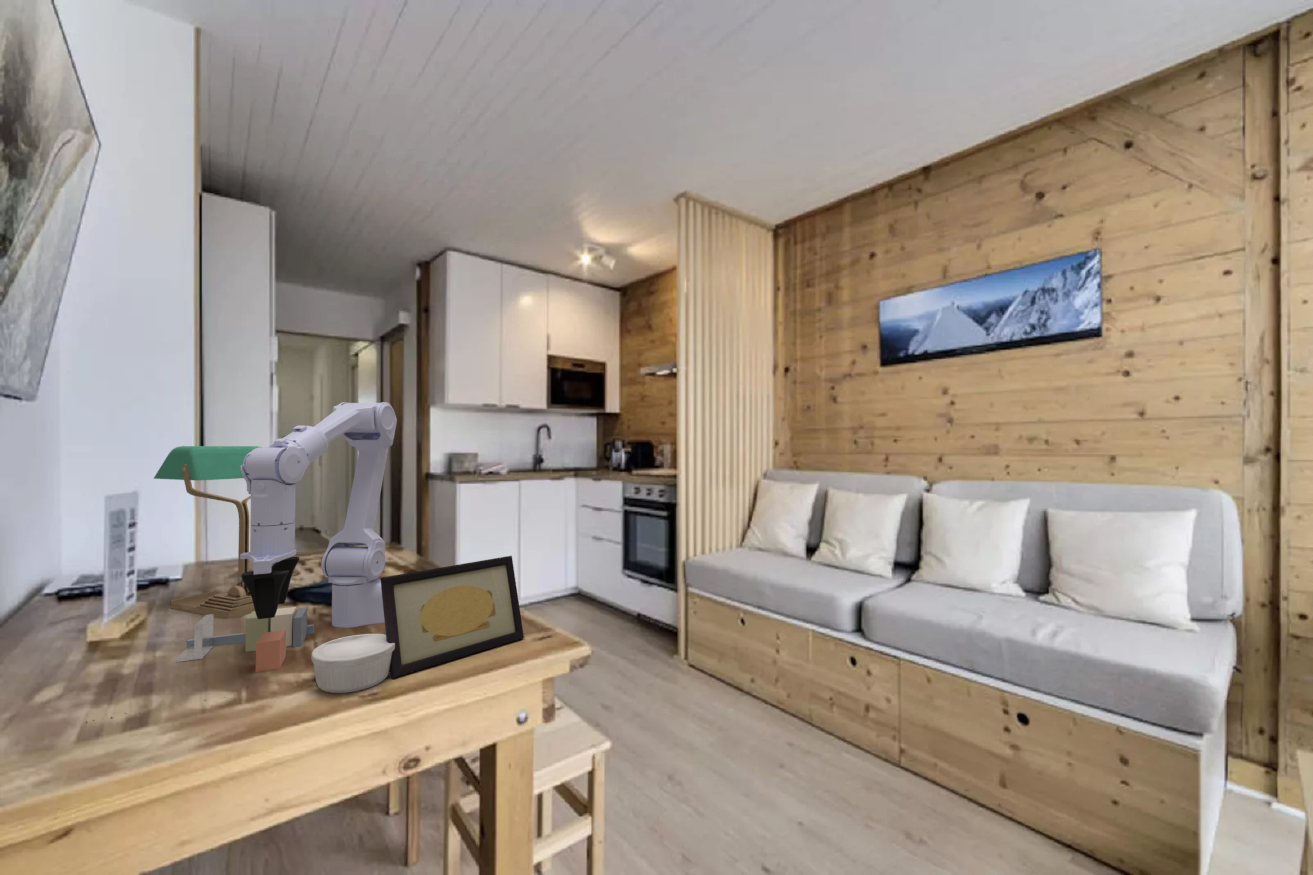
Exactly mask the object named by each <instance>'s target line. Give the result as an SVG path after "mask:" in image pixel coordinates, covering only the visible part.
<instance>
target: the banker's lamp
mask: <svg viewBox="0 0 1313 875" xmlns="http://www.w3.org/2000/svg"><path fill="white" fill-rule="evenodd" d="M259 447H260V446H259V445H257V446H256V445H254V446H253V445H251V446H250V445H247V446H246V445H232V446H231V445H225V446H224V445H216V446H215V445H212V446H211V445H198V446H197V445H194V446H193V445H182V446H176V447H174V448H172V449H171V451H170V452H169V453H168V455H167V456H166V457H165V459H164V461H163V462H162V464H161V466H160V467H159V469H158V470H157V472H156V474H155V475H154V476H153V480H154V479H156V480H175V481H176V480H177V481H178V480H179V481H184V485H185V490H186V493H187V494H189V495H190V496H194V497H199V498H202V499H203V498H204V499H211V500H216V501H221V502H227V503H230V504H231V503H232V504H233V505H235V507H236V509H237V512H238V557H237V558H238V559H237V560H238V561H237V562H238V564H237V583H236V584H235V585H234V586H230V587H229V589H228V591H226V592H222V593H219V592H218V591H217V590H210V591H207V592H204V593H198V594H194V595H190V596H184V597H179V598H176V599H171V600H170V609H171V610H177V611H181V612H186V613H187V612H188V613H194V614H198V615H203V616H205V615H210V614H213V618H220V619H225V620H229V619H235V618H240V617H243V616H247V615H250V614H251V613H252V612H253V611H255V609H254V604H253V600H252V597H251V594H250V592H249V590H248V588H247V586H246V585H245V583H244V582H243V581H242V578H241V577H242V574H243V573H244V572H249V571H250V570H249V568H250V567H249V566H250V560H249V559H240V555H241V554H242V553H246V552H250V511H249V507H248V501H249V500H251V495H249V496H248V497H246V498H244V499H243V500H241V501H239V500H238V499H234V498H230V497H226V496H221V495H218V494H217V495H216V494H215V493H214V494H213V493H209V492H204V491H201V490H197V489H195V488H193V484H192V481H217V480H234V479H244V478H243V476H242V473H241V467H240V466H241V465H243V462H244V459H245V457H246V456H247V454H248V453H250V452H251V451H252V450H254V449H256V448H259Z"/></svg>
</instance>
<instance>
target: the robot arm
mask: <svg viewBox="0 0 1313 875" xmlns="http://www.w3.org/2000/svg"><path fill="white" fill-rule="evenodd" d="M397 423H398V418H397V416H396V413H395V410H394V408H393V407H392V404H390V403H389V402H385V401H384V402H382V401H381V402H347V401H343V402H340V403H339V404H337V405H334V406H333V407H332V411H331V413H330V414H329V415H328V416H326V417H325V418H324V419H323V418H322V420H321V421H319V422H318V423H317V424H316V425H314V426H311V425H296V426H295V427H293V428H292V430H293V431H292V432H290V433H289V434H287V435H285V436H284V437H282V438H277V439H275V440H273V443H272V444H270V445H269V446H268V447H262V446H259V448H256V449H254V450H252V451H251V452H250V453H248V454H247V456H246V457H245V459H244V462H243V465H241V466H240V467H241V473H242V476H243V478H242V479H244V481H245V482H246V492H247V494H249V496H251V499H250V515H249V552H246V553H242V554H241V555H240V559H249V562H251V563H253V570H249V572H244V573H243V574H242V577H241V578H242V581H243V582H244V583H245V585H246V586H247V588H248V590H249V592H250V594H251V597H252V600H253V604H254V609H255V613H256V616H257V618H258V619H265V618H273V617H275V615H276V612H277V609H279V605H285V603H286V601H287V597H288V594H289V593H288V592H289V588H290V585H291V584H290V583H291V580H292V576H293V574H294V570H295V569H296V567H297V564H298V563H299V561H300V556H296V555H297V549H296V548H295V547H296V545H295V543H296V489H297V488H296V483H298V482H300V481H302V478H303V477H304V475H305V472H306V469H307V468H308V467H309V465H310V464H311V463H313V462H315V461H316V460H317V459H318V458H319V457H321V456H323V455H324V454H325V453H326V452H327V451H328V448H329V443H330V442H332V441H334V440H335V439H337V438H339V437H340V436H342V437H343V438H344V439H345V440H346V442H347V443H348V444H349V445H350V446H351V447H354V448H356V450H357V452H358V455H357V461H356V466H355V471H354V476H353V480H352V487H351V491H350V496H349V500H348V505H347V511H346V515H345V516H346V517H345V521H344V526H343V529H341V531H339V532H338V533H336V534H334V535H333V536H332V537H330V539H329V541H328V545H327V549H326V550H325V552H324V554H323V556H322V559H321V562H320V563H321V564H320V567H321V571H322V574H323V576H324V577H325V578H327V580H328V583H329V584H332V585H331V586H332V587H331V588H332V589H331V591H332V593H331V626H332V627H335V628H343V629H344V628H346V629H350V628H357V627H361V626H367V625H374V624H382V623H384V624H385V621H384V611H383V600H382V590H381V580H380V576H381V574H382V573H383V571H384V569H385V566H386V554H385V553H386V552H385V551H386V550H385V548H386V541H385V540H384V539H383V538H382V537H381V536H380V535H379V534H377V532H376V531H374V530H375V524H376V521H377V520H376V519H377V513H378V508H379V504H380V503H379V502H380V497H381V492H382V486H383V481H384V473H385V470H386V464H387V459H388V458H387V457H388V454H389V453H388V452H389V448H390V447H392V446H393V444H394V440H395V434H396V429H397V428H396V427H397Z"/></svg>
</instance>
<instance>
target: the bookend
mask: <svg viewBox="0 0 1313 875" xmlns="http://www.w3.org/2000/svg"><path fill="white" fill-rule="evenodd" d="M193 635H194V637H193V639H194V646H189V647H187V646H186V648H185V649H184V650H183V651H182V652H181V653H180V654H178V656H177V657H176V658H175V662H176V663H180V662H188V661H194V660H202V659H204V658H205V656H206V655H207V654H208V653H209V652H210V651H211V649H212V648H214V646H213V636H214V617H213V614H210V615H203V617H201V619H200V620H198V621H197V622H196V623H195V624H194V634H193Z"/></svg>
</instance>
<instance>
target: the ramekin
mask: <svg viewBox="0 0 1313 875" xmlns="http://www.w3.org/2000/svg"><path fill="white" fill-rule="evenodd" d="M394 649H395V643H388V642H387V641H386V633H385V634H384V633H363V634H354V635H349V636H344V637H340V638H336V639H332V640H329V641H326V642H324V643H321V644H320V645H318V646H317V647H315V648H314V649H313V650H312V652H311V654H310V656H311V658H310V659H311V663H313V670H314V675H315V676H314V677H315V682H316V685H317V686H318V687H319V689H321V690H322V691H324V692H325V693H330V694H347V693H354V692H358V691H362V690H366V689H369V688H372V687H374V686H376V685H379V684H380V683H382V682H383V681H384V680H385V679H386V678H387V677H388V675H390V672H389V671H390V662H391V656H392V651H393V650H394Z"/></svg>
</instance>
